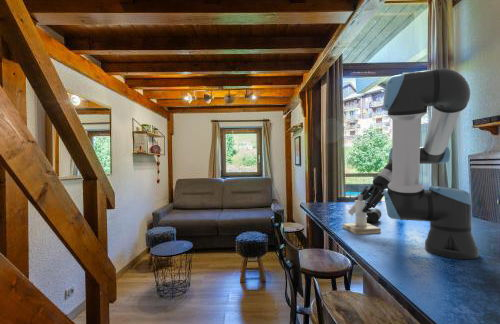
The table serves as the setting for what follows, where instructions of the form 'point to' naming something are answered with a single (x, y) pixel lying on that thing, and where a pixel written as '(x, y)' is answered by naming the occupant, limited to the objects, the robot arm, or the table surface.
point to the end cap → (373, 215)
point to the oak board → (361, 228)
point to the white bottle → (358, 206)
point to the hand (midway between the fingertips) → (353, 215)
